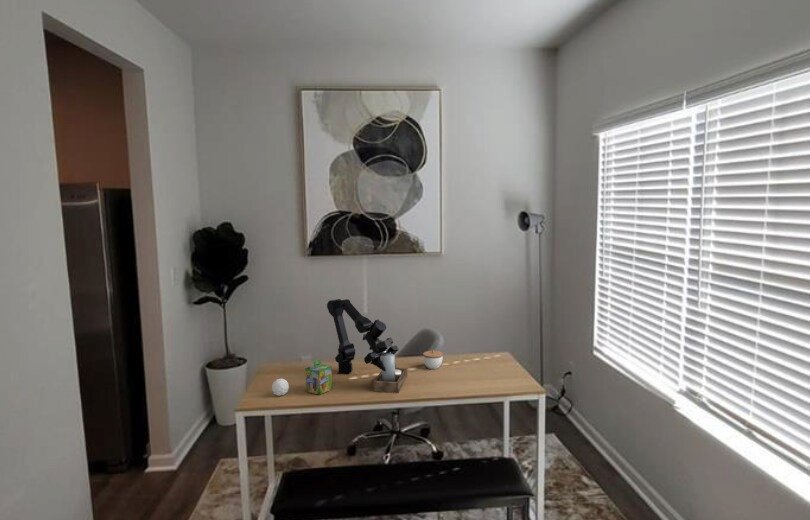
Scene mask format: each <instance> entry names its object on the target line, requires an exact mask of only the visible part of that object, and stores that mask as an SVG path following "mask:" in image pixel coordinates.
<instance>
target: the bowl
mask: <svg viewBox="0 0 810 520" xmlns="http://www.w3.org/2000/svg"><path fill="white" fill-rule="evenodd" d="M395 374H398V375H401V370H398V369H395Z"/></svg>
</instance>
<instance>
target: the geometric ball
mask: <svg viewBox="0 0 810 520" xmlns="http://www.w3.org/2000/svg"><path fill="white" fill-rule="evenodd" d="M289 389H290V386H289V382H288V381H287V380H286V379H284V378H277V379H275V380H274V381H273V383H272V385H271V391H272V393H273V394H274V395H275V396H278V397H281V396H284V395H286V394H287V393H288V391H289Z"/></svg>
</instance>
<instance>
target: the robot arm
mask: <svg viewBox="0 0 810 520" xmlns="http://www.w3.org/2000/svg"><path fill="white" fill-rule="evenodd" d="M350 300H351V299H348V298H345V299H341V298H337V299H331V300H329V301H327V303H326V308H327V311H328V313H329V315H330V316H331V317H332V318H333V322H334V326H335V330H336V335H337V338H338V339H337V340H338V342H339V345H338V348H337V352H338V353H337V355H336V356H335V358H334V359H335V362H336V363H338V365H337V366H338V372H337V374H338V375H341V374H342V375H349V374H351V373H352V372H353V371H354V370H353V369H354V368H353V362H352V361H354V360H355V355H356V349H355V345H354V344H355V343H351V341H350V340H349V337H348V333H347V328H346V325H345V320H344V315H343V314H344V311H345V313H346V314H347V315H348V317H350V319H351V320H352V321H353V322H354V327H355V328H356V330H357V332H359V334H363V337H362V341H365V340H366V342H367V344H368V345H369V347H368V349H369V350H371V352H368V353H367V355H366V356H365V357H364V358H363V361H364V363H365V364H366V365H368V364H370V365H373V366H376V367H377V368H378V369H379V370H381V371H382V370H383V371H386V369H385V367H384V365H383V363H382V355H383V354H394V355H395V354H396V353H397V352H398V351H399V350H400V349H399V347H398V346H397V345H392V344H394V341H393V339H392V337H388V338H386V340H382V339H380V338H379V337H381V336H382V335H383V333H385V331H386V330H387V325H386V324H385V322H383V321H381V320H380V319H375V320H374V322H372V321H371V319H369V318H368V317H366V316H363V315H362V314H361V313H360V312H359V311H358V309H357V308H356V307H355V306H354V305H353V304H352V302H351V301H350ZM395 367H397V364H396V363H395Z"/></svg>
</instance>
